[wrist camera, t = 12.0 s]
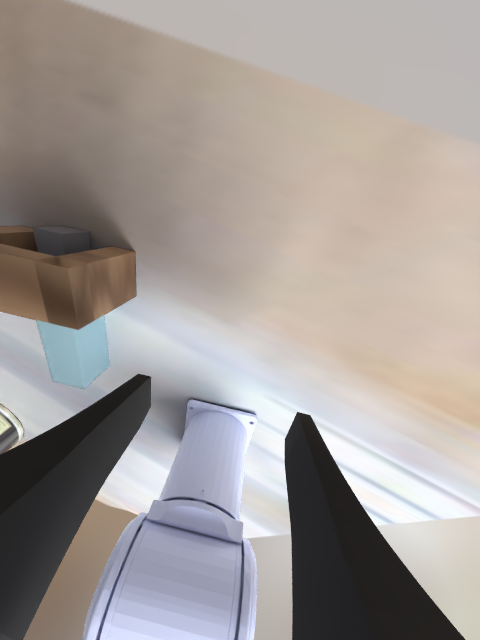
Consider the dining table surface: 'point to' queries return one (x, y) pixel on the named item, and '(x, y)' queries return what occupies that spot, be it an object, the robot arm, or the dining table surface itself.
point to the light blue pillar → (66, 343)
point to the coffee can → (9, 429)
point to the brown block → (62, 280)
